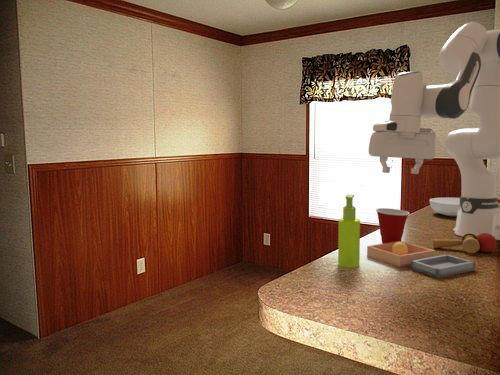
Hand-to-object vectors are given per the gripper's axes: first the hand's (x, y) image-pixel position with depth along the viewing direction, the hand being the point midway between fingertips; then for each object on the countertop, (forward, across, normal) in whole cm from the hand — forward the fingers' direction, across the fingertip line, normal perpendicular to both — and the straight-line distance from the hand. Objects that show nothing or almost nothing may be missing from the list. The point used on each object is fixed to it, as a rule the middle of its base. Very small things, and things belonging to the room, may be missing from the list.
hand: (400, 173), depth 129 cm
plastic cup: (+25, -7, -13) cm, 29 cm away
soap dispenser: (+27, +16, +5) cm, 32 cm away
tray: (+25, -6, +15) cm, 30 cm away
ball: (+22, 0, +3) cm, 23 cm away
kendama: (+24, -25, -1) cm, 35 cm away
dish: (+25, 0, +3) cm, 25 cm away
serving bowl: (+21, -63, -57) cm, 88 cm away
